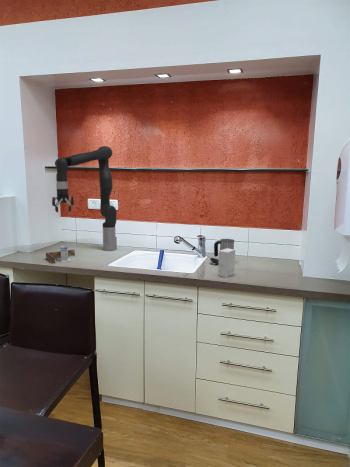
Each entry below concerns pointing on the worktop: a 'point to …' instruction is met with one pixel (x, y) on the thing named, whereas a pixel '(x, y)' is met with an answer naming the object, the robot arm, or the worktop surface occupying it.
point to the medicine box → (64, 252)
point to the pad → (65, 260)
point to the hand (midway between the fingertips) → (63, 211)
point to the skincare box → (226, 262)
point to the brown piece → (57, 255)
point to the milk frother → (223, 245)
